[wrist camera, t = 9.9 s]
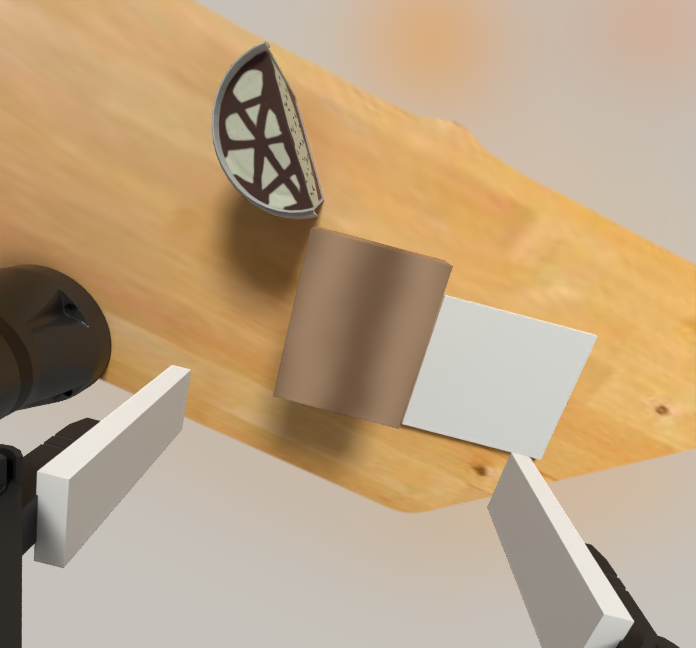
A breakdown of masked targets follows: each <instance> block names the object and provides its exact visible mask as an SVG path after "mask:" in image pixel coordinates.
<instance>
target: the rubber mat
mask: <svg viewBox="0 0 696 648" xmlns="http://www.w3.org/2000/svg"><path fill="white" fill-rule="evenodd" d="M597 337H598V336H596V335H594V334H592V333H588V332H584V331H580V330H576V329H573V328H569V327H565V326H561V325H558V324H554V323H550V322H546V321H542V320H539V319H535V318H531V317H527V316H523V315H520V314H516V313H512V312H508V311H505V310H501V309H497V308H493V307H489V306H486V305H482V304H478V303H474V302H471V301H467V300H463V299H459V298H455V297H452V296H448V295H443V298H442V301H441V304H440V307H439V310H438V313H437V316H436V319H435V322H434V325H433V328H432V331H431V334H430V337H429V340H428V343H427V346H426V349H425V352H424V355H423V358H422V361H421V364H420V367H419V370H418V373H417V376H416V379H415V382H414V385H413V388H412V391H411V394H410V397H409V400H408V403H407V406H406V409H405V412H404V415H403V418H402V424H404V425H408V426H412V427H416V428H419V429H423V430H427V431H431V432H435V433H439V434H443V435H446V436H450V437H454V438H458V439H462V440H466V441H470V442H474V443H477V444H481V445H485V446H489V447H493V448H497V449H501V450H505V451H508V452H512V453H516V454H520V455H524V456H528V457H532V458H536V459H539V460H541V458H542V456H543V454H544V451H545V449H546V447H547V445H548V443H549V441H550V438H551V436H552V434H553V432H554V430H555V428H556V425H557V423H558V421H559V419H560V417H561V415H562V412H563V410H564V408H565V406H566V404H567V402H568V400H569V397H570V395H571V393H572V391H573V389H574V387H575V384H576V382H577V380H578V378H579V376H580V374H581V371H582V369H583V367H584V365H585V363H586V361H587V358H588V356H589V354H590V352H591V350H592V348H593V345H594V343H595V341H596V339H597Z"/></svg>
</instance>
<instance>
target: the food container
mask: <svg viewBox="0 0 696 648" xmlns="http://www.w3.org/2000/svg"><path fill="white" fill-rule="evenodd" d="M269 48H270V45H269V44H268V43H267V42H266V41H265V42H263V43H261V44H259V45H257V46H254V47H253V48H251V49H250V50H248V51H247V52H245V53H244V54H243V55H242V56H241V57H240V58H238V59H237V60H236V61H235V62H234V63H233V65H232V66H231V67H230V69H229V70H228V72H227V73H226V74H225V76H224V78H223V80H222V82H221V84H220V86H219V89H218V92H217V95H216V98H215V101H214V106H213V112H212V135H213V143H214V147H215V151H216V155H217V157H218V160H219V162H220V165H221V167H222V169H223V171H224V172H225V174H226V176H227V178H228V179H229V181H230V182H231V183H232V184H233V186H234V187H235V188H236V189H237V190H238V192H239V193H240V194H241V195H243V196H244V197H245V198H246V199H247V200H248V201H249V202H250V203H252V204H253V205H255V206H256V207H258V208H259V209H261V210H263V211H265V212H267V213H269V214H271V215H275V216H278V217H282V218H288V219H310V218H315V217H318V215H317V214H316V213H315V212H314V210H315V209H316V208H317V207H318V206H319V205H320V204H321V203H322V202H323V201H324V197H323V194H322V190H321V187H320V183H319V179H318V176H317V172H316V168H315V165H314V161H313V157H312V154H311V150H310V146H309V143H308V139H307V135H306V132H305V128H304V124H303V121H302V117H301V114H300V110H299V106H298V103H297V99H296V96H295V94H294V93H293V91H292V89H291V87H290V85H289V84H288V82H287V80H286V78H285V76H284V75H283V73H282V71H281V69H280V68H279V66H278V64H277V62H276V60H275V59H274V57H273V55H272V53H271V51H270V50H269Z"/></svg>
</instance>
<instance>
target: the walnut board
mask: <svg viewBox="0 0 696 648" xmlns="http://www.w3.org/2000/svg"><path fill="white" fill-rule="evenodd" d="M452 267H453V266H452V265H450V264H449V263H447V262H446V261H444V260H440V259H437V258H433V257H429V256H425V255H422V254H418V253H414V252H410V251H407V250H403V249H399V248H395V247H392V246H388V245H384V244H380V243H377V242H373V241H369V240H365V239H362V238H358V237H354V236H350V235H347V234H343V233H339V232H336V231H332V230H328V229H324V228H321V227H317V226H316V227H313V228H311V229H310V234H309V238H308V243H307V247H306V252H305V256H304V261H303V265H302V270H301V274H300V279H299V283H298V287H297V292H296V296H295V301H294V305H293V310H292V314H291V319H290V323H289V328H288V332H287V337H286V341H285V346H284V350H283V355H282V359H281V363H280V368H279V372H278V377H277V381H276V386H275V390H274V395H273V396H274V397H278V398H282V399H286V400H290V401H293V402H297V403H301V404H305V405H309V406H313V407H317V408H320V409H324V410H328V411H332V412H336V413H340V414H343V415H347V416H351V417H355V418H359V419H363V420H367V421H370V422H374V423H378V424H382V425H386V426H390V427H394V428H397V429H399V426H400V423H401V420H402V417H403V414H404V411H405V408H406V405H407V402H408V399H409V396H410V393H411V390H412V387H413V384H414V381H415V378H416V375H417V372H418V369H419V366H420V363H421V360H422V357H423V354H424V351H425V348H426V345H427V342H428V339H429V336H430V333H431V330H432V327H433V324H434V321H435V318H436V315H437V312H438V309H439V306H440V303H441V300H442V297H443V294H444V291H445V288H446V285H447V282H448V279H449V276H450V273H451V270H452Z"/></svg>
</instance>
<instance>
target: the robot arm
mask: <svg viewBox="0 0 696 648" xmlns="http://www.w3.org/2000/svg"><path fill="white" fill-rule="evenodd" d="M110 350H111V340H110V333H109V329H108V325H107V322H106V320H105V317H104V315H103V313H102V311H101V309H100V307H99V306H98V304H97V303H96V301H95V300H94V299H93V298H92V296H91V295H90V294H89V293H88V292H87V291H86V290H85V289H84V288H83V287H82V286H81V285H80V284H78V283H77V282H76V281H74V280H73V279H71V278H70V277H68V276H66V275H65V274H63V273H61V272H58V271H56V270H53V269H51V268H47V267H43V266H37V265H20V266H14V267H8V268H2V269H0V419H2V418H3V417H5V416H7V415H9V414H11V413H12V412H14V411H17V410H22V409H26V408H31V407H36V406H41V405H46V404H50V403H55V402H60V401H63V400H66V399H69V398H71V397H73V396H75V395H77V394H78V393H80V392H81V391H83V390H85V389H86V388H88V387H90V386H91V385H92V384H94V383H95V382H96V381H97V380H98V379H99V378H100V376H101V375H102V374H103V372H104V370H105V368H106V366H107V364H108V361H109V357H110ZM190 374H191V370H190V369H186V368H183V367H179V366H175V365H171V366H170V367H169V368H167V369H166V370H165V371H164V372H162V373H161V374H160V375H159V376H157V377H156V378H155V379H153V380H152V381H151V382H150V383H148V384H147V385H146V386H145V387H143V388H142V389H141V390H140V391H138V392H137V393H136V394H134V395H133V396H132V397H131V398H129V399H128V400H127V401H126V402H124V403H123V404H122V405H121V406H119V407H118V408H117V409H116V410H114V411H113V412H112V413H111V414H109V415H108V416H107V417H105V418H104V419H103V420H102V421H98V420H94V419H90V418H85V419H82V420H79V421H77V422H74V423H72V424H69V425H68V426H66V427H65V428H64V429H62V430H61V431H59V432H58V433H56V434H55V436H52V437H51V438H49V439H48V440H47V441H45V442H44V444H43V445H42V444H41V445H40V446H38V447H37V448H35V449H34V450H33V451H31V452H30V453H28V454H27V455H26V456H24V457H23V455H22V453H21V451H20V450H19V449H17V448H15V447H14V446H10V445H4V444H0V648H22V636H21V635H22V631H21V630H22V555H23V554H24V553H25V552H26V551H27V550H28V549H29V548H30V547H32V546H33V545H34V544H35V547H34V561H37V562H41V563H45V564H49V565H53V566H57V567H61V568H64V567H65V566H66V565H67V563H68V562H69V561H70V560H71V559H72V558H73V556H74V555H75V554H76V553H77V552H78V551H79V549H80V548H81V547H82V546H83V545H84V543H85V542H86V541H87V540H88V539H89V538H90V536H91V535H92V534H93V533H94V532H95V531H96V530H97V528H98V527H99V526H100V525H101V524H102V522H103V521H104V520H105V519H106V518H107V517H108V515H109V514H110V513H111V512H112V511H113V509H114V508H115V507H116V506H117V505H118V504H119V503H120V501H121V500H122V499H123V498H124V497H125V495H126V494H127V493H128V492H129V491H130V490H131V488H132V487H133V486H134V485H135V484H136V482H137V481H138V480H139V479H140V478H141V477H142V476H143V474H144V473H145V472H146V471H147V470H148V469H149V467H150V466H151V465H152V464H153V463H154V462H155V460H156V459H157V458H158V457H159V456H160V454H161V453H162V452H163V451H164V450H165V449H166V447H167V446H168V445H169V444H170V443H171V442H172V440H173V439H174V438H175V437H176V436H177V435H178V433H179V432H180V431H181V430H182V426H183V419H184V413H185V406H186V400H187V393H188V387H189V380H190ZM487 508H488V510H489V513H490V516H491V518H492V521H493V523H494V526H495V528H496V531H497V534H498V536H499V539H500V541H501V544H502V546H503V549H504V552H505V554H506V557H507V559H508V562H509V564H510V567H511V570H512V572H513V575H514V577H515V580H516V582H517V585H518V588H519V590H520V593H521V595H522V598H523V600H524V603H525V605H526V608H527V611H528V613H529V616H530V618H531V621H532V624H533V626H534V629H535V631H536V634H537V637H538V639H539V641H540V644H541V647H542V648H679V647H678V646H677V645H675V644H674V643H672V642H670V641H669V640H667V639H665V638H663V637H660V636H657V634H656V633H655V631H654V630H653V628H652V627H651V625H650V624H649V622H648V621H647V619H646V618H645V616H644V615H643V613H642V612H641V610H640V609H639V607H638V606H637V604H636V603H635V601H634V600H633V598H632V597H631V595H630V594H629V592H628V591H626V590H625V586H624V585H623V583H622V582H621V580H620V579H619V578H617V574H616V573H615V571H614V570H613V568H612V567H611V566H610V564H609V563H608V561H607V560H606V559H605V558H604V557H603V556H602V555H601V554H600V553H599V552H598V551H597V550H596V549H595V548H594V547H593V546H592V545H590V544H586V543H584V542H583V540H582V539H581V537H580V536H579V534H578V533H577V531H576V529H575V528H574V526H573V524H572V523H571V521H570V520H569V518H568V517H567V515H566V513H565V512H564V510H563V509H562V507H561V506H560V504H559V502H558V501H557V499H556V498H555V496H554V495H553V493H552V491H551V490H550V488H549V487H548V485H547V484H546V482H545V480H544V479H543V477H542V476H541V474H540V473H539V471H538V469H537V468H536V466H535V465H534V463H533V462H532V460H531V458H530V457H528V456H524V455H520V454H516V453H512V452H511V454H510V456H509V459H508V461H507V463H506V465H505V468H504V470H503V472H502V475H501V477H500V479H499V481H498V484H497V486H496V488H495V491H494V493H493V495H492V498H491V500H490V502H489V505H488V507H487Z"/></svg>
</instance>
